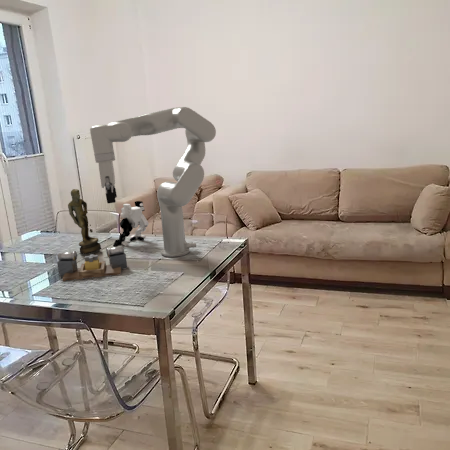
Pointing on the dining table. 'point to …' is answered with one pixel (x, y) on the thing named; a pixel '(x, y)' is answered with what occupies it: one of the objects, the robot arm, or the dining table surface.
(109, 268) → the bed
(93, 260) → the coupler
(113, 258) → the shaft
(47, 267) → the dining table surface
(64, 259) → the shaft
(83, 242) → the statue
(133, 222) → the robot toy
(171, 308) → the dining table surface
